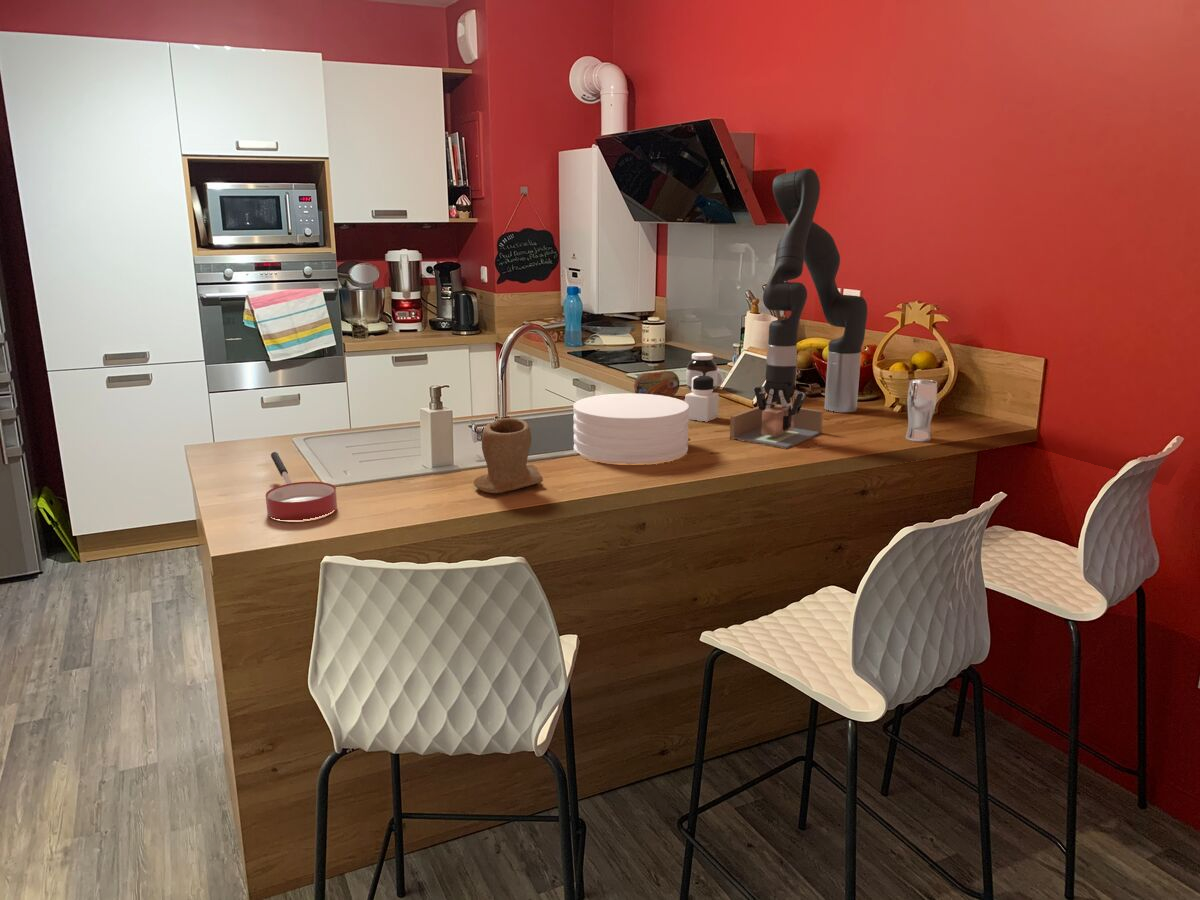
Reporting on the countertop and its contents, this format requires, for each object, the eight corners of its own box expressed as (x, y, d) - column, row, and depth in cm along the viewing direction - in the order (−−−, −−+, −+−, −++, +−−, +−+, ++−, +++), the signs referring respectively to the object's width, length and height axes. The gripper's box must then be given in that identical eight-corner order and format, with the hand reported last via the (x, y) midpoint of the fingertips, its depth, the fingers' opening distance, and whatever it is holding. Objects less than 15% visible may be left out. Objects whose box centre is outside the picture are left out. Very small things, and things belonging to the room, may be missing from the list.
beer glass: (928, 435, 234) (934, 379, 230) (935, 442, 227) (941, 384, 223) (901, 435, 235) (906, 378, 231) (907, 441, 228) (912, 383, 224)
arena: (767, 424, 246) (768, 403, 245) (821, 433, 237) (822, 411, 235) (729, 438, 231) (730, 416, 229) (786, 448, 221) (787, 425, 220)
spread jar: (685, 391, 290) (685, 355, 287) (687, 384, 301) (688, 350, 298) (722, 392, 288) (723, 356, 285) (723, 386, 299) (724, 351, 296)
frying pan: (234, 486, 192) (230, 458, 191) (295, 476, 200) (292, 448, 198) (279, 528, 167) (276, 496, 166) (347, 515, 175) (344, 483, 173)
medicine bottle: (718, 417, 254) (719, 375, 251) (707, 422, 248) (708, 379, 245) (695, 414, 258) (696, 373, 255) (684, 419, 252) (685, 377, 249)
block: (761, 434, 228) (762, 410, 227) (779, 426, 236) (780, 404, 234) (775, 436, 226) (776, 413, 224) (793, 429, 234) (794, 406, 232)
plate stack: (638, 431, 240) (639, 389, 237) (711, 453, 218) (713, 407, 215) (551, 447, 224) (550, 402, 221) (620, 473, 202) (621, 424, 199)
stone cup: (494, 502, 182) (492, 430, 178) (466, 487, 191) (464, 419, 187) (557, 488, 191) (556, 420, 187) (527, 475, 200) (526, 409, 196)
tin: (637, 401, 276) (637, 374, 274) (632, 399, 279) (632, 372, 277) (679, 396, 282) (680, 370, 280) (674, 395, 285) (675, 368, 283)
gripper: (749, 361, 228) (746, 427, 232) (800, 367, 219) (796, 435, 224) (763, 357, 233) (760, 421, 238) (814, 363, 225) (809, 429, 229)
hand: (777, 428), depth 231 cm, fingers closed on block, 4 cm apart
